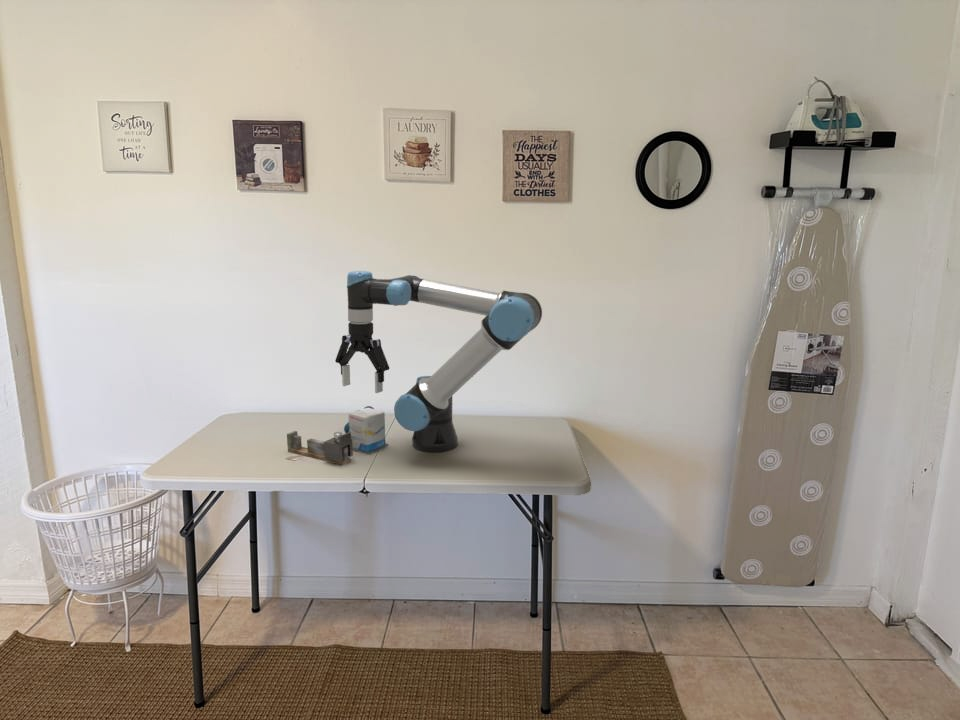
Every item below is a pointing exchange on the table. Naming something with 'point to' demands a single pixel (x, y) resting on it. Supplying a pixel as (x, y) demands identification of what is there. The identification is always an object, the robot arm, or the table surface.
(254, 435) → the table surface
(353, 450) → the mat
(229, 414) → the table surface
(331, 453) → the clip
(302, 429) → the table surface
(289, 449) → the vise
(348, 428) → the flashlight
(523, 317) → the robot arm
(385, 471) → the table surface
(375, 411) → the ink box
